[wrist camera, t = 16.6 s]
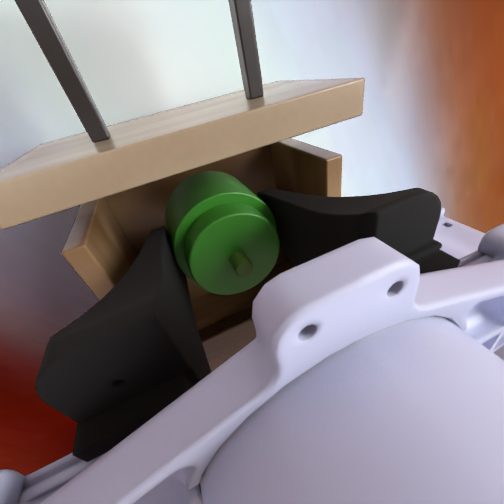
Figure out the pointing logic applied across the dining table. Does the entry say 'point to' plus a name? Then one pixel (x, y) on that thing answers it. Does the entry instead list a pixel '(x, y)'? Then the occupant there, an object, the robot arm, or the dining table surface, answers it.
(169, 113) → the drawer
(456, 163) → the dining table surface
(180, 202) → the green lidded jar
